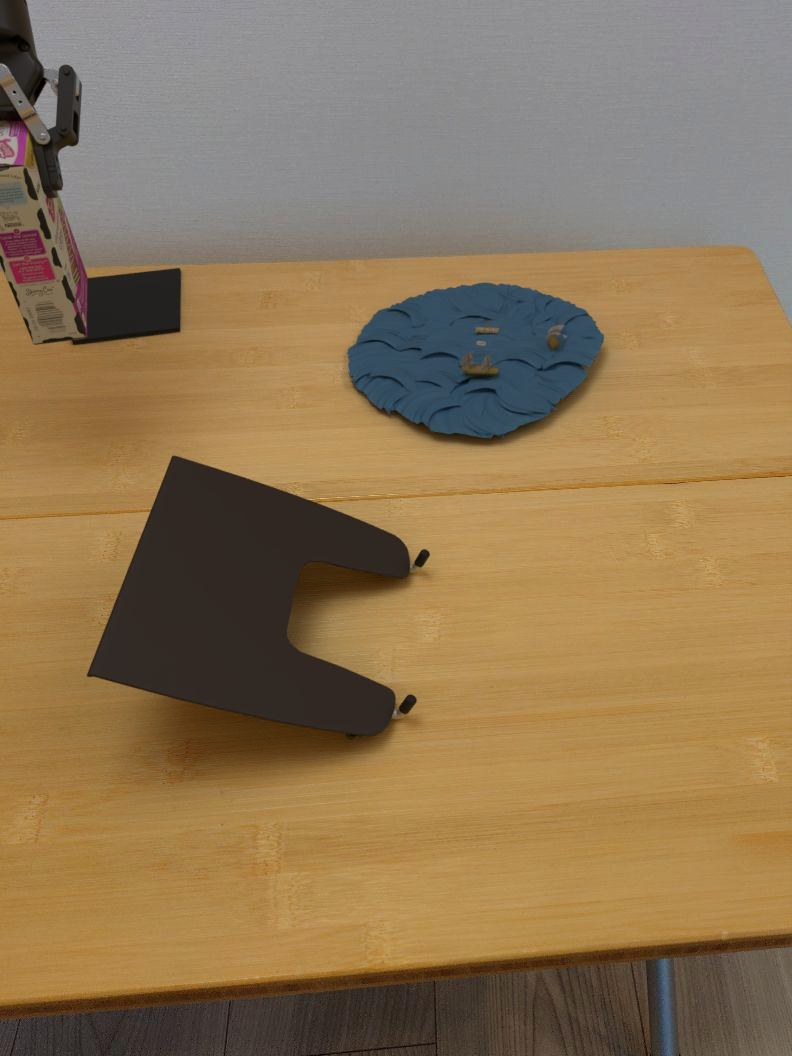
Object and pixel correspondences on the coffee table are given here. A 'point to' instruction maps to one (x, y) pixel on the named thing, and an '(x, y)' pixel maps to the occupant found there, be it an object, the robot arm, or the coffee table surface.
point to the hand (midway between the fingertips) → (15, 197)
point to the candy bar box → (38, 245)
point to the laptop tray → (242, 603)
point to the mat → (133, 305)
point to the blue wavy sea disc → (474, 357)
